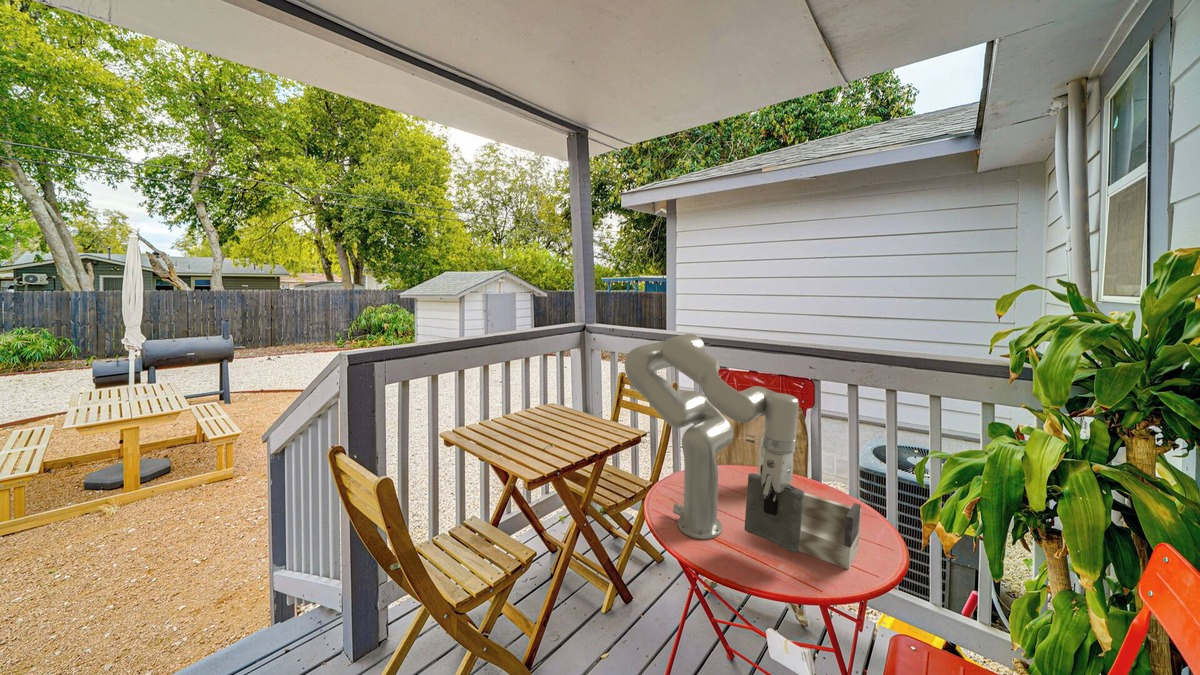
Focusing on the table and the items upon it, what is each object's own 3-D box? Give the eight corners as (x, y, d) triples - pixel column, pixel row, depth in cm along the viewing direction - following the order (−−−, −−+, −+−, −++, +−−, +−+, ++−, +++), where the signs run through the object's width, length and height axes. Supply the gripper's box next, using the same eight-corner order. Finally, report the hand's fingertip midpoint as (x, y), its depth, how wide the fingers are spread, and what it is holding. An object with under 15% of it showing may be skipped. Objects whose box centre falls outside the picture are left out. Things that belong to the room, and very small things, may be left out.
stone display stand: (769, 539, 129) (772, 493, 127) (782, 524, 136) (784, 480, 134) (848, 569, 116) (852, 518, 114) (857, 551, 124) (862, 502, 121)
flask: (749, 524, 127) (753, 463, 123) (801, 547, 117) (808, 481, 113) (742, 530, 124) (746, 467, 121) (795, 554, 114) (802, 486, 111)
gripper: (782, 458, 107) (776, 529, 110) (805, 437, 119) (798, 502, 123) (751, 449, 112) (745, 518, 115) (776, 430, 124) (770, 492, 127)
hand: (773, 509), depth 119 cm, fingers closed on flask, 3 cm apart
